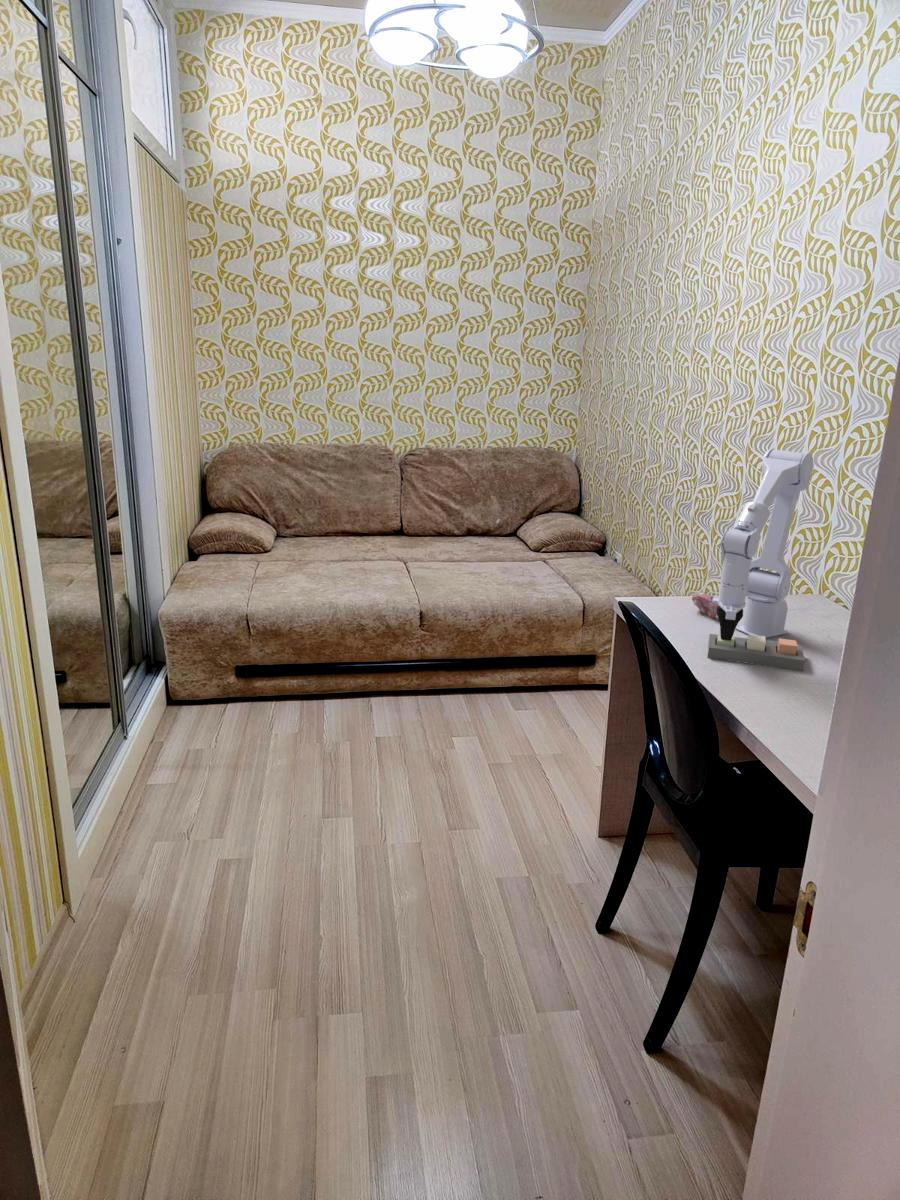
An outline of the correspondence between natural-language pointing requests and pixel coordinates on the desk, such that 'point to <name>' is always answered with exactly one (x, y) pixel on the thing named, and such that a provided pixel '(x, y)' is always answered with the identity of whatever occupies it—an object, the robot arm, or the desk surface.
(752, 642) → the cream button
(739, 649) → the button panel
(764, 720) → the desk surface
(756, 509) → the robot arm
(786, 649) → the terracotta button
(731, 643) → the sage button
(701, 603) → the pinkish-red lumpy piece
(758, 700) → the desk surface
